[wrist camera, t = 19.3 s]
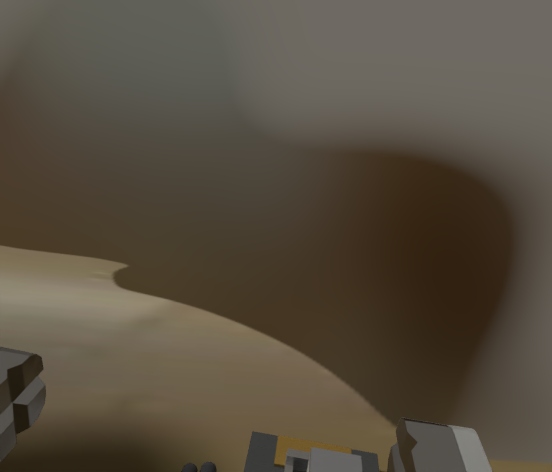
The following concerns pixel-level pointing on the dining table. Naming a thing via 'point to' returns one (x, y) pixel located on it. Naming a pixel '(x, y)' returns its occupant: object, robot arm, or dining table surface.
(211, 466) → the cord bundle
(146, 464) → the dining table surface
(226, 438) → the dining table surface
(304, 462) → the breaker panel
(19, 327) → the dining table surface
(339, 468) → the knob
